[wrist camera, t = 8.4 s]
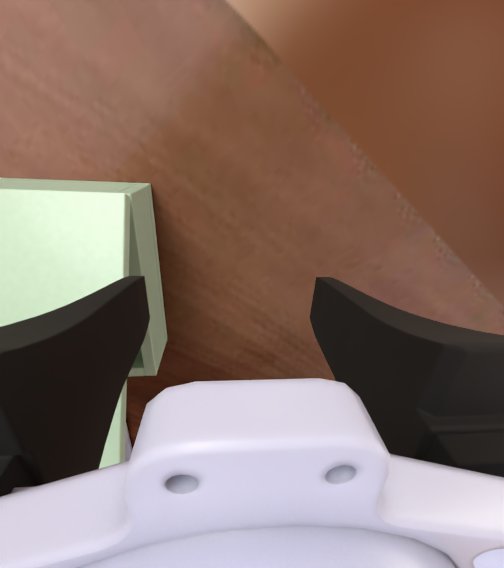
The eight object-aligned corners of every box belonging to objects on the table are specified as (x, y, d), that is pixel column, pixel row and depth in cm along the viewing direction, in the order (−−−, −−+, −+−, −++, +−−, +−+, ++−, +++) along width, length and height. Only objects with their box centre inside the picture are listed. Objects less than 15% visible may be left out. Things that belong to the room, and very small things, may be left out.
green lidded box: (167, 338, 24) (156, 376, 20) (21, 340, 23) (-20, 380, 19) (150, 183, 18) (130, 193, 14) (-43, 176, 17) (-121, 185, 13)
